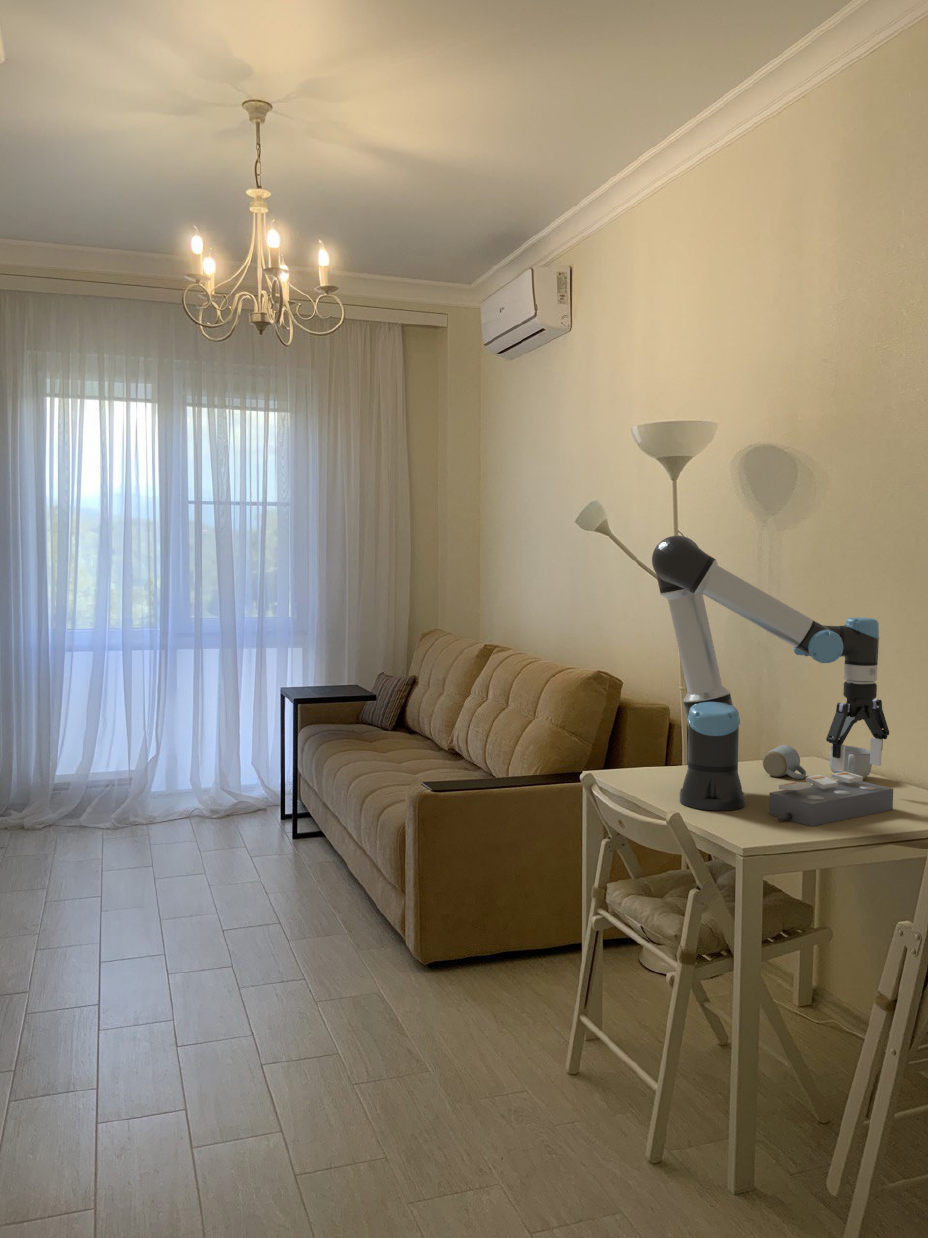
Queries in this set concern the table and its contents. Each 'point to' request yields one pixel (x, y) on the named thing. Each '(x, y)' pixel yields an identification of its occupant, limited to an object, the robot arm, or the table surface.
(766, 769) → the ceramic mug
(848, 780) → the rocker
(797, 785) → the rocker
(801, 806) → the power strip
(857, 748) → the teacup
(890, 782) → the table surface
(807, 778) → the rocker
